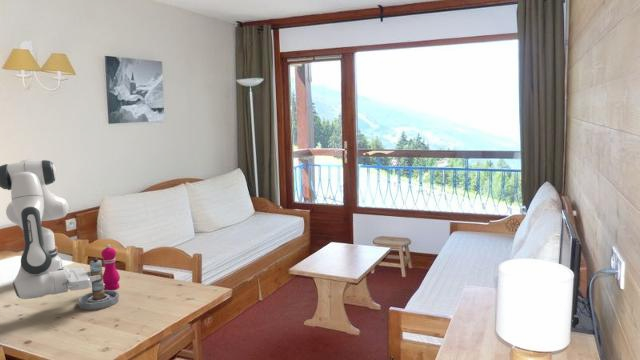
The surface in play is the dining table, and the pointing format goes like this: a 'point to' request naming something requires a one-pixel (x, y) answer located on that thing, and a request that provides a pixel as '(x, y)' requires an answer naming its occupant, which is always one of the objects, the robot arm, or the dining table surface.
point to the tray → (90, 304)
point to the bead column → (97, 284)
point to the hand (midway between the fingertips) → (99, 274)
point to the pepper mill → (110, 269)
